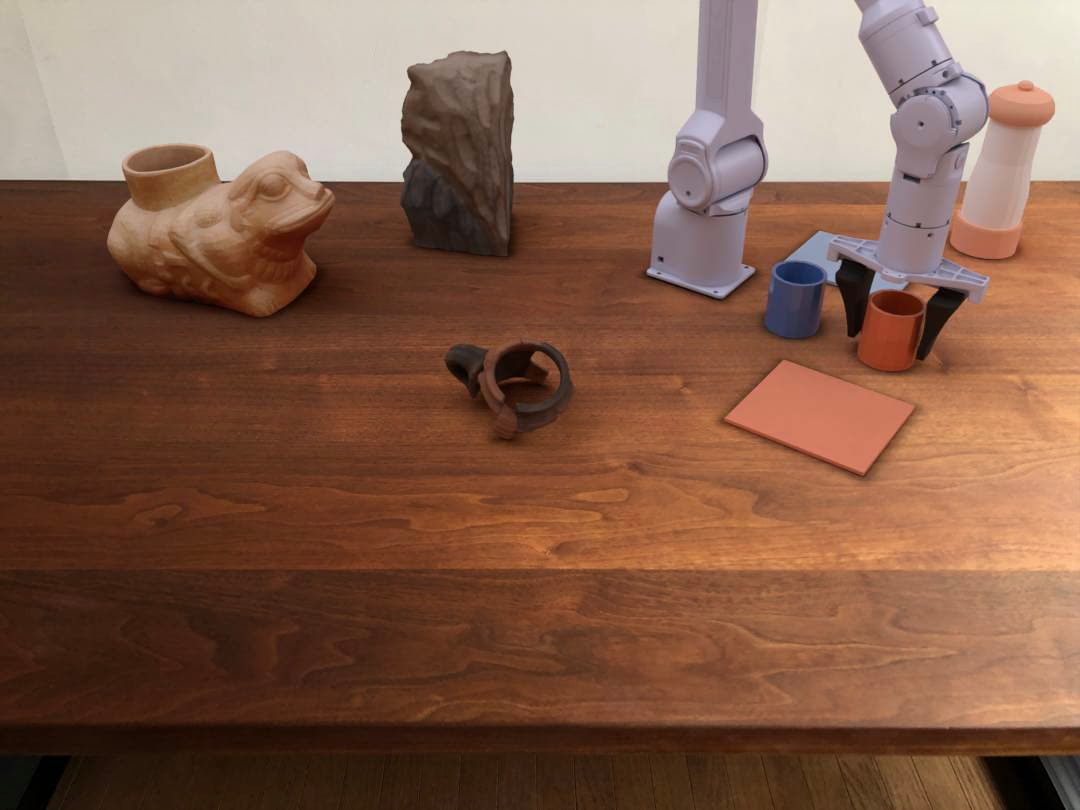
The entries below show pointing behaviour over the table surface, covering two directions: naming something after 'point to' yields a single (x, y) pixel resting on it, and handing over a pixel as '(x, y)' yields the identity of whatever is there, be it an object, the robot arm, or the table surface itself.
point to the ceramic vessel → (218, 228)
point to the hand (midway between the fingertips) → (888, 344)
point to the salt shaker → (1002, 173)
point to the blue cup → (795, 299)
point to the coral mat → (821, 416)
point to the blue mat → (817, 254)
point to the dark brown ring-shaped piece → (505, 363)
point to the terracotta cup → (891, 329)
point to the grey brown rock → (460, 152)
